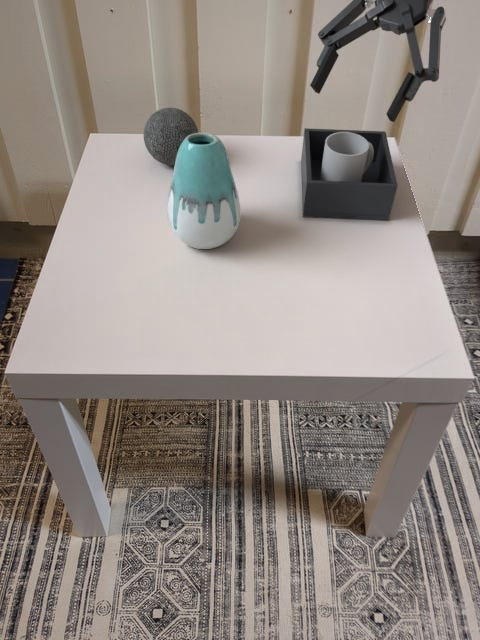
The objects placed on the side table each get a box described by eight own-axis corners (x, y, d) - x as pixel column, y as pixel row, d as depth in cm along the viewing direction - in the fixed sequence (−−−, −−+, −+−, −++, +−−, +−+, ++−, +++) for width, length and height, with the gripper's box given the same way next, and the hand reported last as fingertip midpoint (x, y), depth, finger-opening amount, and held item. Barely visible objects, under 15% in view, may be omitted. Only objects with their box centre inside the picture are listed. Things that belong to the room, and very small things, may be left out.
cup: (310, 183, 101) (316, 139, 94) (354, 167, 105) (363, 123, 98) (335, 205, 97) (343, 160, 90) (380, 188, 100) (390, 143, 94)
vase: (193, 204, 98) (187, 108, 85) (252, 226, 95) (256, 128, 81) (156, 243, 92) (143, 145, 78) (218, 268, 88) (215, 169, 74)
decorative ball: (193, 142, 111) (191, 94, 104) (204, 171, 105) (202, 122, 97) (143, 149, 109) (136, 100, 102) (151, 179, 103) (145, 129, 95)
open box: (388, 220, 96) (397, 186, 91) (302, 217, 96) (306, 182, 91) (377, 164, 107) (385, 131, 102) (300, 161, 107) (304, 128, 102)
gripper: (502, 4, 82) (428, 139, 86) (355, -35, 92) (294, 88, 96) (501, -27, 75) (420, 121, 79) (342, -65, 85) (277, 68, 89)
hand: (351, 103), depth 87 cm, fingers open, 13 cm apart
